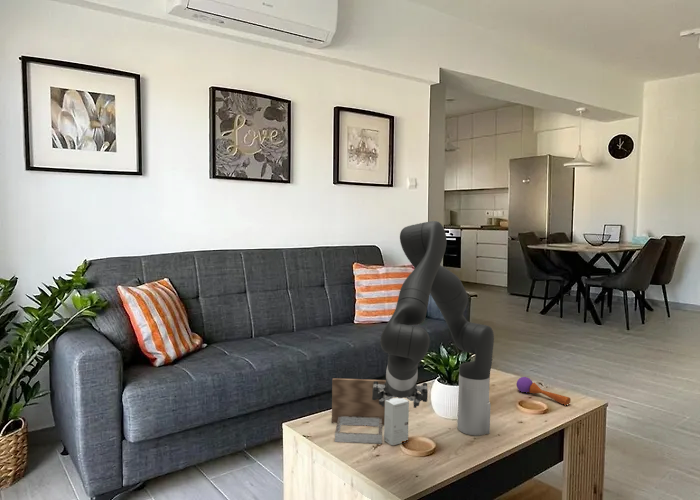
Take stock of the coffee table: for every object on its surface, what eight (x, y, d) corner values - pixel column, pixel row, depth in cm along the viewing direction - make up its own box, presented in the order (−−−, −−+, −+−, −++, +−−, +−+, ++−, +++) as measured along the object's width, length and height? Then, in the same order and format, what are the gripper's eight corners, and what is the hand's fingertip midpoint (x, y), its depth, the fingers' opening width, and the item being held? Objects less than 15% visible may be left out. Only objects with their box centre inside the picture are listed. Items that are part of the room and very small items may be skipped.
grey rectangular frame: (381, 425, 157) (381, 417, 157) (381, 443, 145) (381, 435, 144) (338, 423, 158) (338, 415, 158) (334, 441, 145) (335, 433, 145)
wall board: (388, 419, 162) (389, 376, 161) (388, 424, 157) (389, 381, 156) (333, 417, 163) (333, 374, 162) (331, 422, 159) (332, 379, 158)
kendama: (563, 397, 173) (513, 378, 189) (563, 413, 175) (513, 392, 190) (572, 391, 177) (522, 372, 192) (572, 406, 178) (522, 386, 194)
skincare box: (392, 446, 143) (393, 405, 142) (383, 440, 147) (383, 400, 146) (409, 441, 146) (410, 400, 146) (399, 435, 150) (400, 396, 149)
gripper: (430, 362, 124) (424, 391, 136) (372, 360, 125) (372, 389, 137) (431, 391, 119) (426, 418, 131) (371, 389, 120) (371, 416, 132)
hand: (398, 403), depth 134 cm, fingers open, 8 cm apart
